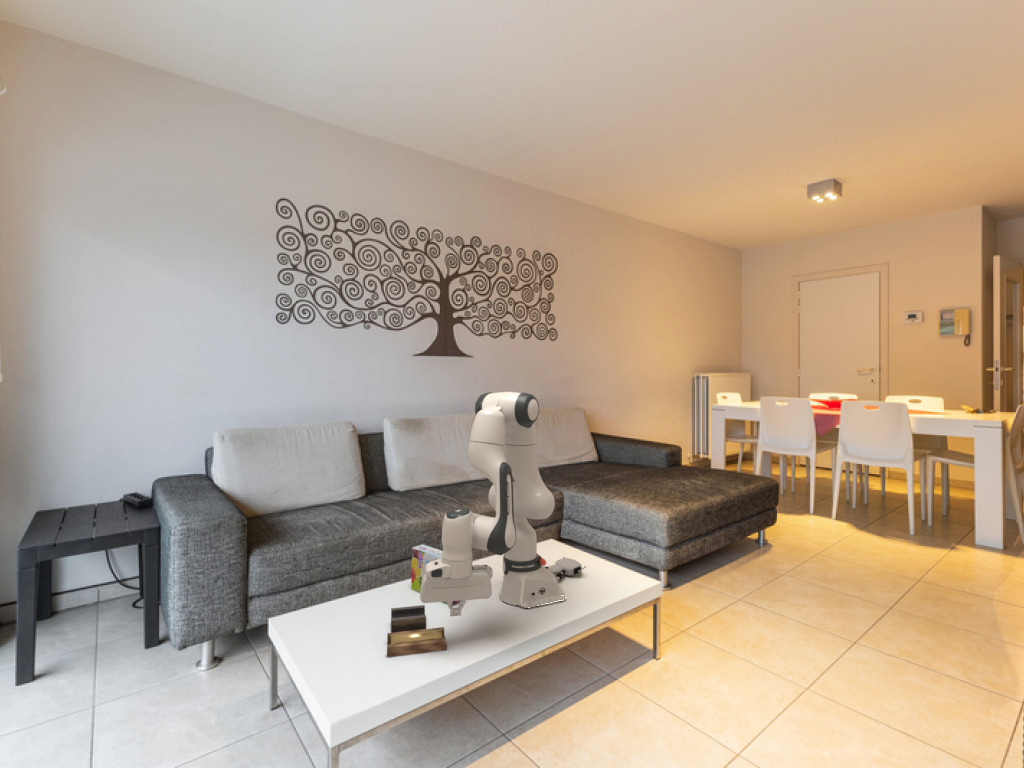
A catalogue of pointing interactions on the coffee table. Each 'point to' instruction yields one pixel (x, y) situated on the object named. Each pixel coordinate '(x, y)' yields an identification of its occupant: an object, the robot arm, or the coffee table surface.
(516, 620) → the coffee table surface
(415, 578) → the snack box
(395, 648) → the copper channel
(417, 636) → the brass rod
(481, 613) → the coffee table surface
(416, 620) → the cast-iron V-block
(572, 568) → the robot toy
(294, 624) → the coffee table surface
